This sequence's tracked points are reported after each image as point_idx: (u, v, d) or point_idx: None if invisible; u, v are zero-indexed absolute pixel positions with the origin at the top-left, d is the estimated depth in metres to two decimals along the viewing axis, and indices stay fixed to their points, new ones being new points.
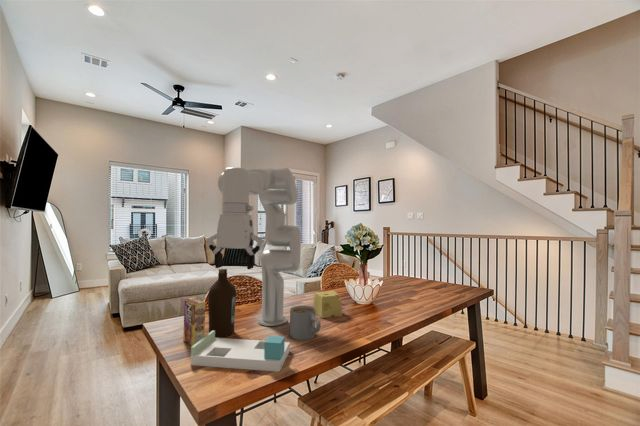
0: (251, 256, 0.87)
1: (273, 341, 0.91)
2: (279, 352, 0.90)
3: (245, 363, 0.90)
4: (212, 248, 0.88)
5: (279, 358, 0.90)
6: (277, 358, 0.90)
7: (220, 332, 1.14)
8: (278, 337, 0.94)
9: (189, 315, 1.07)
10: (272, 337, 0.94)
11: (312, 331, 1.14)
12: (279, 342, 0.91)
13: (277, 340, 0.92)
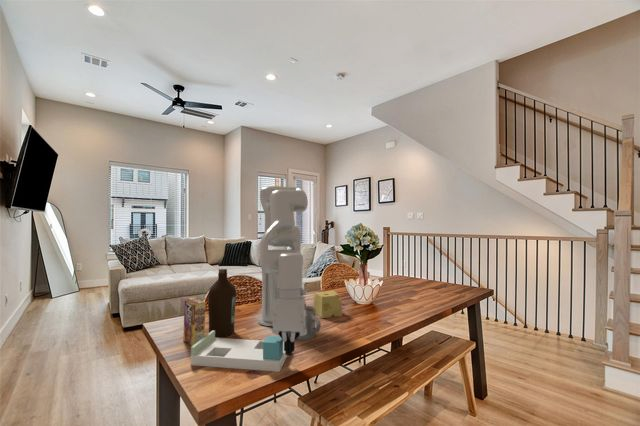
0: (292, 342, 0.91)
1: (272, 341, 0.91)
2: (278, 352, 0.90)
3: (245, 363, 0.90)
4: (281, 335, 0.92)
5: (278, 358, 0.90)
6: (276, 358, 0.90)
7: (220, 332, 1.14)
8: (277, 337, 0.94)
9: (190, 315, 1.07)
10: (271, 337, 0.94)
11: (312, 331, 1.14)
12: (278, 342, 0.91)
13: (275, 340, 0.92)
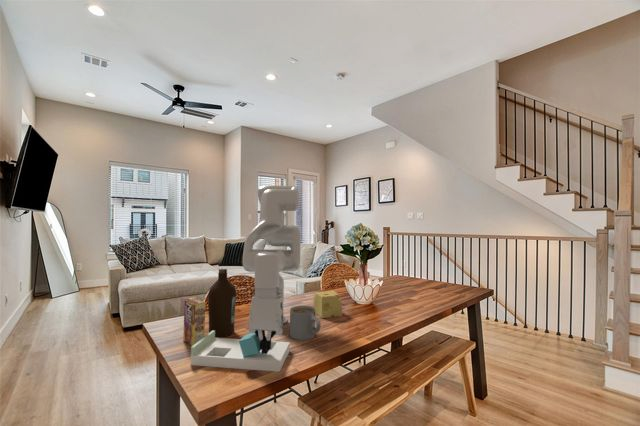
0: (268, 341, 0.92)
1: (247, 337, 0.92)
2: (255, 346, 0.91)
3: (245, 363, 0.90)
4: None
5: (257, 351, 0.91)
6: (255, 352, 0.91)
7: (220, 332, 1.14)
8: (253, 333, 0.96)
9: (189, 315, 1.07)
10: (247, 335, 0.95)
11: (312, 331, 1.14)
12: (252, 336, 0.92)
13: (251, 335, 0.93)
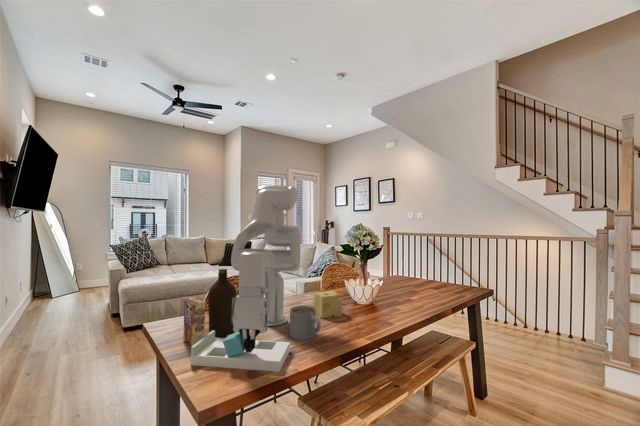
0: (252, 340, 0.93)
1: (231, 337, 0.92)
2: (239, 345, 0.91)
3: (245, 363, 0.90)
4: (242, 332, 0.93)
5: (241, 351, 0.91)
6: (239, 351, 0.91)
7: (220, 332, 1.14)
8: (237, 332, 0.96)
9: (189, 315, 1.07)
10: (231, 335, 0.95)
11: (312, 331, 1.14)
12: (237, 336, 0.92)
13: (235, 335, 0.93)
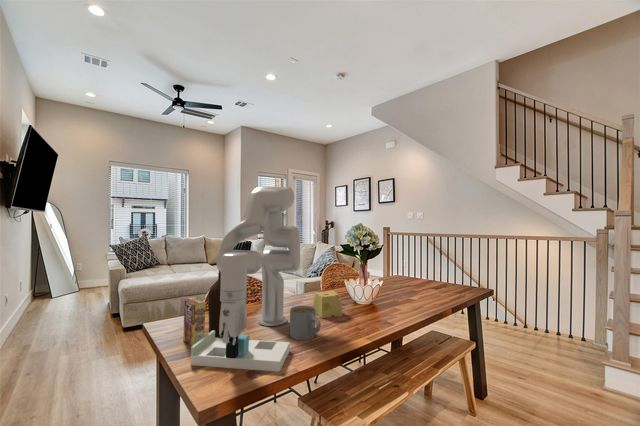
0: None
1: None
2: (242, 349, 0.91)
3: (245, 363, 0.90)
4: None
5: (242, 355, 0.91)
6: (240, 355, 0.91)
7: None
8: (243, 335, 0.96)
9: (189, 315, 1.07)
10: None
11: (312, 331, 1.14)
12: (243, 339, 0.92)
13: (241, 337, 0.94)
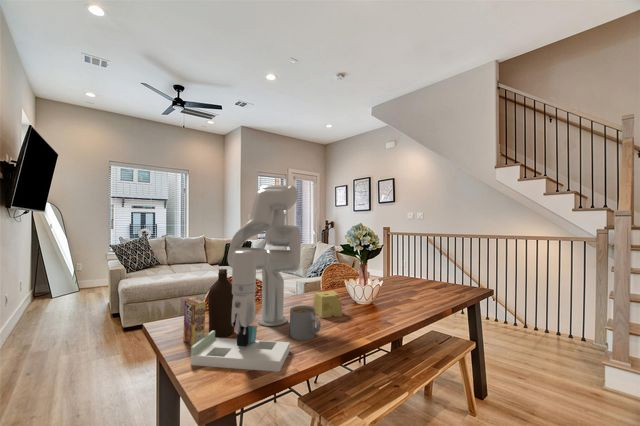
0: None
1: None
2: (250, 335, 0.99)
3: (245, 363, 0.90)
4: None
5: (250, 340, 0.99)
6: (248, 340, 0.99)
7: (220, 332, 1.14)
8: None
9: (190, 315, 1.07)
10: None
11: (312, 331, 1.14)
12: (251, 326, 1.01)
13: None
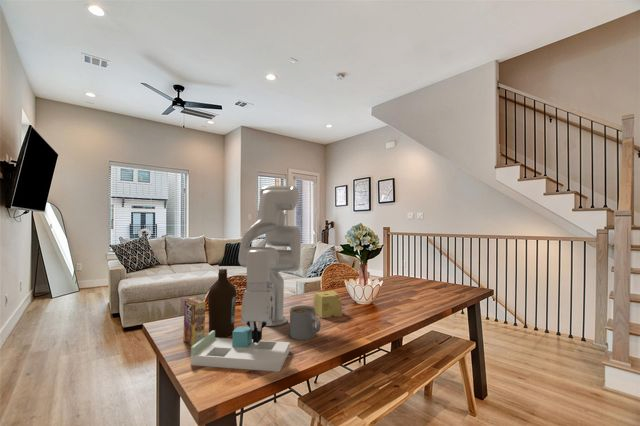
0: (259, 331, 1.00)
1: (240, 330, 0.99)
2: (246, 340, 0.98)
3: (245, 363, 0.90)
4: (249, 325, 1.00)
5: (246, 346, 0.98)
6: (244, 346, 0.98)
7: (220, 332, 1.14)
8: (246, 327, 1.03)
9: (189, 315, 1.07)
10: (240, 327, 1.02)
11: (312, 331, 1.14)
12: (246, 331, 0.99)
13: (244, 329, 1.01)
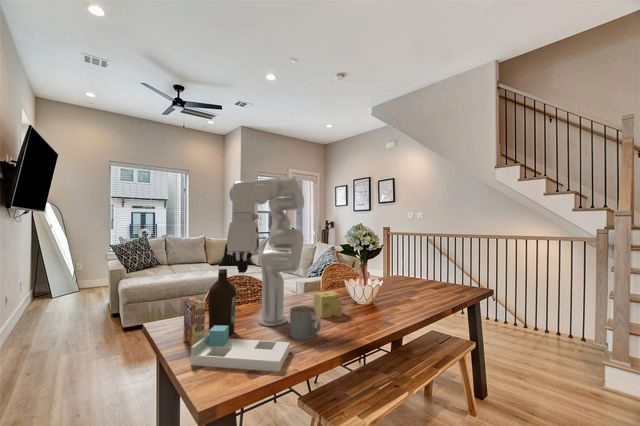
0: (244, 261, 1.01)
1: (217, 329, 1.00)
2: (223, 339, 0.99)
3: (245, 363, 0.90)
4: (235, 255, 1.01)
5: (222, 344, 0.99)
6: (221, 345, 0.99)
7: None
8: (223, 326, 1.03)
9: (189, 315, 1.07)
10: (217, 326, 1.03)
11: (312, 331, 1.14)
12: (223, 330, 1.00)
13: (221, 328, 1.01)
